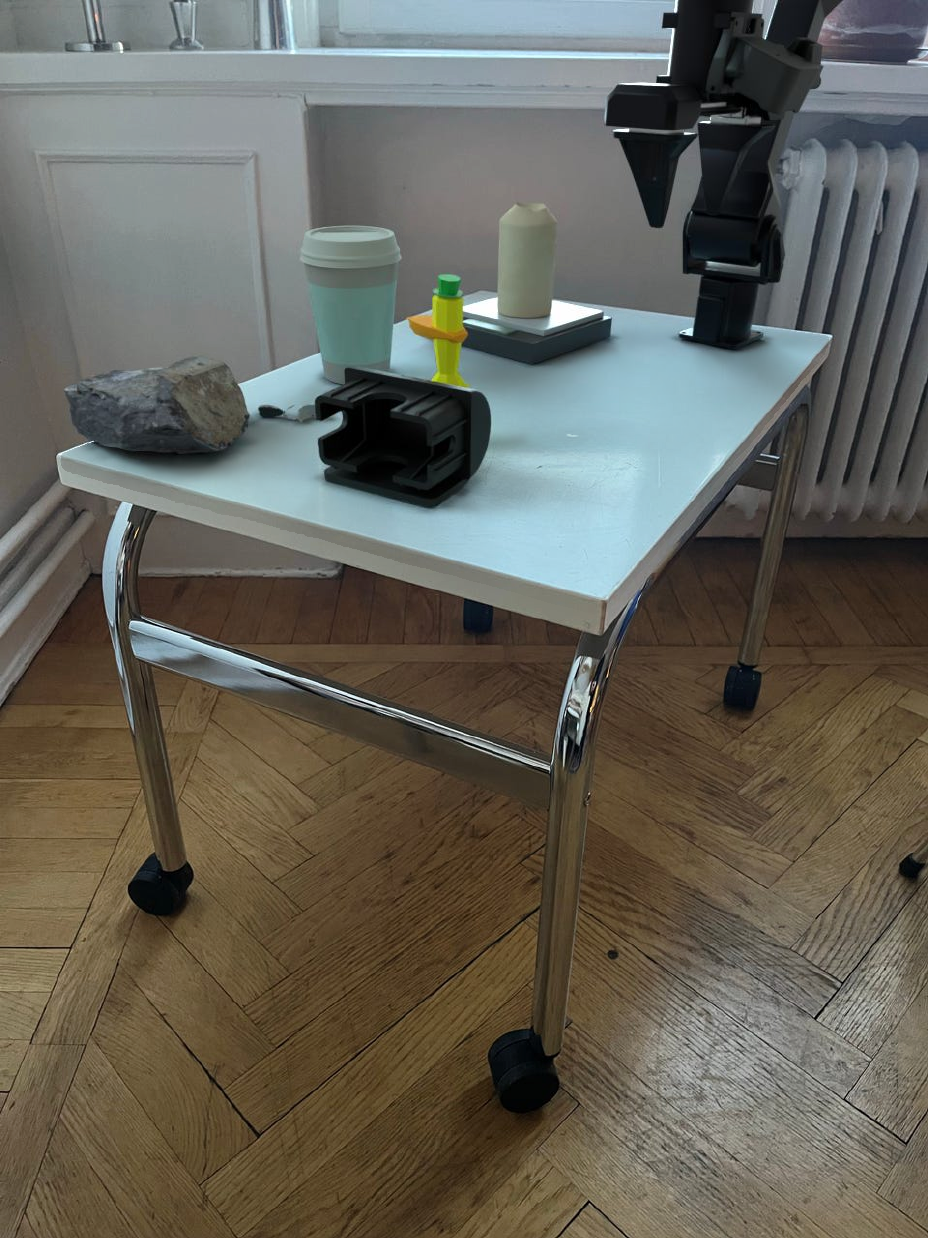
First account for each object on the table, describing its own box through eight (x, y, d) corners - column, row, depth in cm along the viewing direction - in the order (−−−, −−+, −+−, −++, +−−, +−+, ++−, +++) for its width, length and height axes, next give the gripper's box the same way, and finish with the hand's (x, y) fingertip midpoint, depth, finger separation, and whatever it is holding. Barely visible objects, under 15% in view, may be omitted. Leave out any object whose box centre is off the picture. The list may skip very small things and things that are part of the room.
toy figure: (395, 431, 71) (390, 269, 64) (430, 421, 73) (428, 262, 66) (453, 457, 66) (454, 286, 60) (488, 445, 69) (493, 278, 62)
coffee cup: (420, 368, 84) (418, 229, 78) (375, 396, 78) (369, 246, 71) (340, 356, 87) (332, 221, 81) (290, 382, 80) (277, 236, 74)
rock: (266, 422, 73) (261, 354, 70) (216, 473, 63) (207, 396, 60) (93, 410, 74) (81, 343, 71) (18, 459, 64) (1, 383, 61)
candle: (522, 321, 89) (528, 209, 83) (485, 310, 92) (488, 202, 87) (562, 312, 92) (570, 204, 86) (525, 302, 95) (530, 197, 90)
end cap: (491, 473, 64) (494, 378, 60) (439, 511, 59) (438, 410, 55) (373, 445, 68) (369, 355, 65) (315, 479, 63) (307, 382, 59)
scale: (512, 314, 101) (513, 290, 100) (610, 337, 94) (612, 311, 92) (431, 338, 93) (431, 311, 91) (532, 364, 86) (533, 336, 84)
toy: (224, 429, 72) (227, 418, 73) (326, 422, 72) (327, 411, 74) (221, 414, 71) (224, 403, 73) (324, 407, 71) (325, 396, 73)
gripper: (755, -12, 58) (716, 249, 66) (869, -1, 70) (824, 219, 78) (610, -8, 64) (591, 229, 73) (737, 1, 76) (708, 205, 84)
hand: (685, 220), depth 77 cm, fingers open, 9 cm apart
